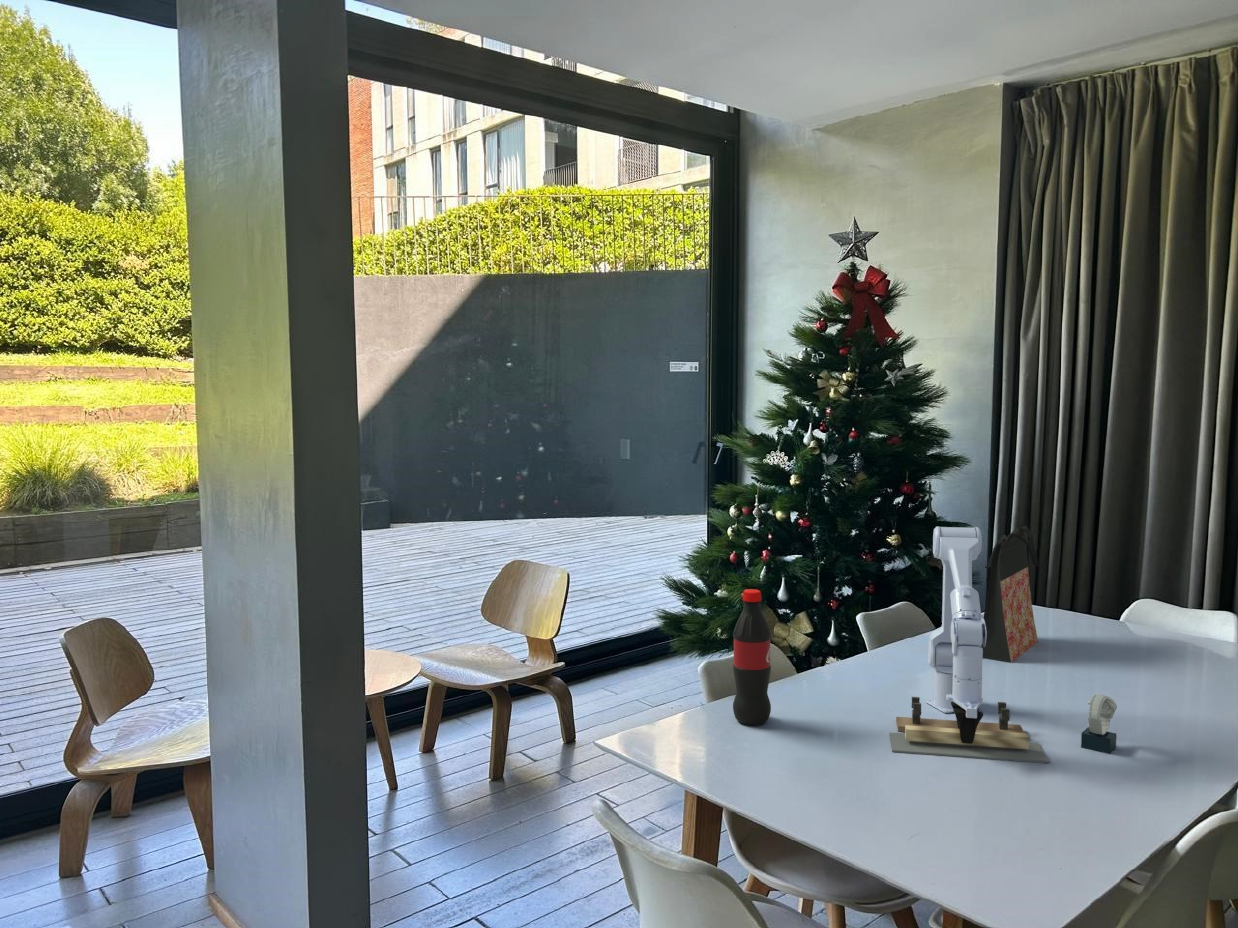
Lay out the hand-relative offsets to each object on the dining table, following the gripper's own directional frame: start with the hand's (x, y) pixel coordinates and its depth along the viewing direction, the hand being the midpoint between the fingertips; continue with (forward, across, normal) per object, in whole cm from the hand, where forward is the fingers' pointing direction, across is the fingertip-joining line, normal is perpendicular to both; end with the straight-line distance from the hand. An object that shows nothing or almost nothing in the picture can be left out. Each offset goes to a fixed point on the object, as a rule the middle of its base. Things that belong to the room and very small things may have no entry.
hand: (965, 740), depth 196 cm
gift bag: (+2, -80, +23) cm, 83 cm away
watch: (+2, -6, +27) cm, 27 cm away
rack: (+2, -10, 0) cm, 10 cm away
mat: (+2, 0, 0) cm, 2 cm away
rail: (0, 0, 0) cm, 0 cm away
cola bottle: (+2, -8, -45) cm, 45 cm away
